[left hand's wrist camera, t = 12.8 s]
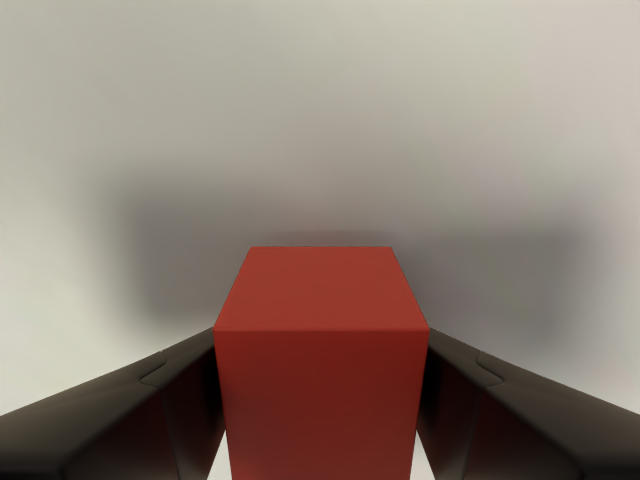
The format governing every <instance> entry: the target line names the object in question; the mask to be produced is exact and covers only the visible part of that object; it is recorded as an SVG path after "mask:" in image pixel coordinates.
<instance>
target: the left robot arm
mask: <svg viewBox="0 0 640 480" xmlns="http://www.w3.org/2000/svg"><path fill="white" fill-rule="evenodd" d="M429 328H430V327H429ZM224 432H225V422H224V414H223V406H222V399H221V391H220V383H219V376H218V368H217V361H216V353H215V345H214V338H213V327H211V328H209V329H207V330H205V331H203V332H201V333H199V334H196V335H194V336H192V337H190V338H188V339H186V340H184V341H181V342H179V343H177V344H175V345H173V346H171V347H169V348H167V349H164V350H162V352H161V351H159V352H157V353H155V354H153V355H151V356H148V357H146V358H144V359H142V360H139V361H137V362H135V363H132V364H130V365H127V366H125V367H123V368H120V369H118V370H115V371H113V372H110V373H108V374H105V375H103V376H100V377H98V378H95V379H93V380H90V381H88V382H85V383H82V384H80V385H77V386H75V387H72V388H70V389H67V390H65V391H62V392H60V393H57V394H55V395H52V396H50V397H47V398H45V399H42V400H40V401H37V402H35V403H32V404H30V405H27V406H24V407H22V408H19V409H17V410H14V411H12V412H9V413H7V414H4V415H2V416H0V480H207V478H208V475H209V473H210V470H211V467H212V464H213V462H214V459H215V456H216V454H217V451H218V448H219V445H220V443H221V440H222V437H223V434H224ZM417 432H418V435H419V437H420V440H421V443H422V445H423V448H424V451H425V453H426V456H427V459H428V462H429V464H430V467H431V470H432V472H433V475H434V478H435V480H640V415H639V414H637V413H634V412H632V411H629V410H626V409H624V408H621V407H619V406H616V405H614V404H611V403H609V402H606V401H604V400H601V399H598V398H596V397H593V396H591V395H588V394H586V393H583V392H581V391H578V390H576V389H573V388H571V387H568V386H565V385H563V384H560V383H558V382H555V381H553V380H550V379H548V378H545V377H543V376H540V375H538V374H535V373H532V372H530V371H527V370H525V369H522V368H520V367H517V366H515V365H513V364H510V363H508V362H505V361H503V360H501V359H499V358H496V357H494V356H492V355H490V354H487V353H485V352H483V351H480V350H478V349H476V348H474V347H471V346H469V345H467V344H465V343H463V342H461V341H458V340H456V339H454V338H452V337H450V336H448V335H446V334H443V333H441V332H439V331H437V330H435V329H433V328H430V334H429V341H428V348H427V356H426V363H425V370H424V378H423V385H422V392H421V400H420V407H419V415H418V422H417Z"/></svg>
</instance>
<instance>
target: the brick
mask: <svg viewBox="0 0 640 480" xmlns="http://www.w3.org/2000/svg"><path fill="white" fill-rule="evenodd" d="M429 334H430V328H429V326H428V324H427V322H426V320H425V318H424V316H423V314H422V312H421V309H420V307H419V305H418V303H417V301H416V299H415V297H414V295H413V293H412V290H411V288H410V286H409V284H408V282H407V280H406V278H405V276H404V274H403V272H402V269H401V267H400V265H399V263H398V261H397V259H396V257H395V255H394V253H393V251H392V248H391V247H251V248H250V250H249V252H248V254H247V256H246V258H245V261H244V263H243V265H242V267H241V269H240V271H239V273H238V276H237V278H236V280H235V282H234V284H233V286H232V288H231V291H230V293H229V295H228V297H227V299H226V301H225V303H224V306H223V308H222V310H221V312H220V314H219V316H218V318H217V321H216V323H215V325H214V327H213V338H214V345H215V353H216V361H217V368H218V376H219V383H220V391H221V399H222V406H223V414H224V422H225V429H226V437H227V444H228V452H229V460H230V467H231V475H232V480H410V473H411V466H412V459H413V451H414V444H415V437H416V429H417V422H418V415H419V407H420V400H421V392H422V385H423V378H424V370H425V363H426V356H427V348H428V341H429Z"/></svg>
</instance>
